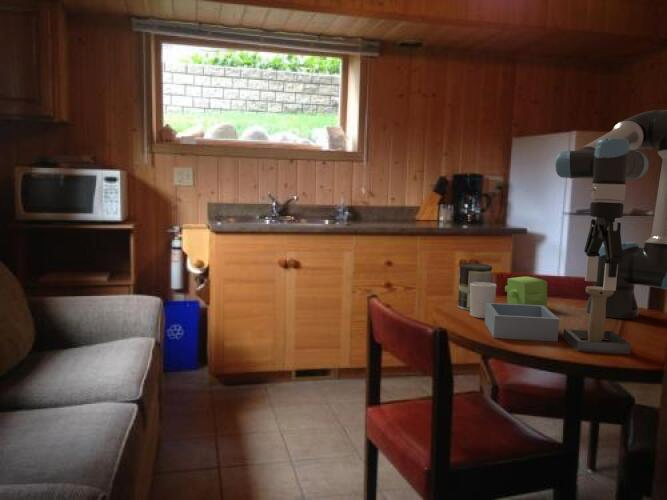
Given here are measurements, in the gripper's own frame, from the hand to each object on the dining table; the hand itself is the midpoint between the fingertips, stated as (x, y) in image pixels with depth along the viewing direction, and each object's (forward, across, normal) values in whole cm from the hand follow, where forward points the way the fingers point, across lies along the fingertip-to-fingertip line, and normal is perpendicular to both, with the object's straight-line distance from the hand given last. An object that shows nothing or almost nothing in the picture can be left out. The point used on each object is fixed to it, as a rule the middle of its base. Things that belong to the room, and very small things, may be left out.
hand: (599, 285), depth 144 cm
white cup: (+16, -27, -25) cm, 40 cm away
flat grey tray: (+16, 0, 0) cm, 16 cm away
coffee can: (+16, -38, -26) cm, 49 cm away
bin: (+16, -10, -17) cm, 25 cm away
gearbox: (+16, -45, -9) cm, 49 cm away
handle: (+16, 0, 0) cm, 16 cm away
